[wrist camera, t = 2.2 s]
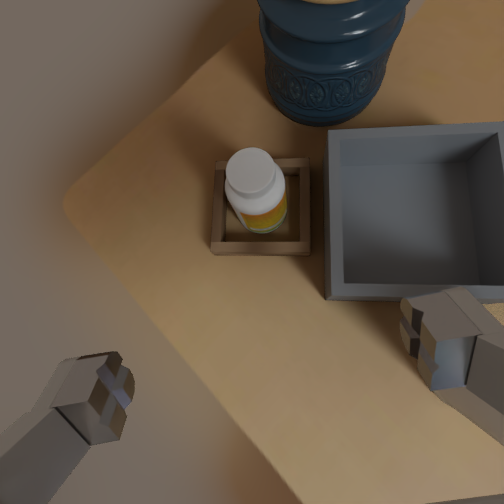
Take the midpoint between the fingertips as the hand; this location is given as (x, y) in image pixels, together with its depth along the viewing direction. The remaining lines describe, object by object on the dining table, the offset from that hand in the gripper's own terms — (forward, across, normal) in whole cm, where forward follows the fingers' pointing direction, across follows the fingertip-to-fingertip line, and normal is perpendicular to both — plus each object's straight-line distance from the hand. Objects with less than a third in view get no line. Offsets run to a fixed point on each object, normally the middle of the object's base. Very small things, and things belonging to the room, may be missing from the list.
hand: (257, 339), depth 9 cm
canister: (+35, -10, -2) cm, 37 cm away
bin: (+22, -14, +11) cm, 28 cm away
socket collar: (+25, 0, +8) cm, 26 cm away
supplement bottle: (+25, 0, +8) cm, 27 cm away
